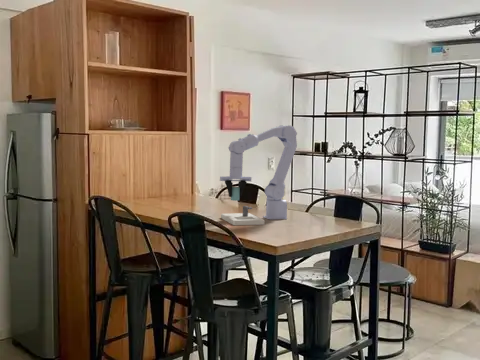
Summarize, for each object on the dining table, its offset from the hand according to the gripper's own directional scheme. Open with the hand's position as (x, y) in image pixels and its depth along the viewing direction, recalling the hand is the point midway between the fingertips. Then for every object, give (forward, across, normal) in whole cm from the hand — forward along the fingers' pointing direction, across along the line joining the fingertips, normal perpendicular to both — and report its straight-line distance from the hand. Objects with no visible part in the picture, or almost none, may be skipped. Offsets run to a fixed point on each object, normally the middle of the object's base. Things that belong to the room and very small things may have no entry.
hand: (235, 196), depth 249 cm
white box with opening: (+10, -2, +6) cm, 12 cm away
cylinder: (+1, 0, 0) cm, 1 cm away
